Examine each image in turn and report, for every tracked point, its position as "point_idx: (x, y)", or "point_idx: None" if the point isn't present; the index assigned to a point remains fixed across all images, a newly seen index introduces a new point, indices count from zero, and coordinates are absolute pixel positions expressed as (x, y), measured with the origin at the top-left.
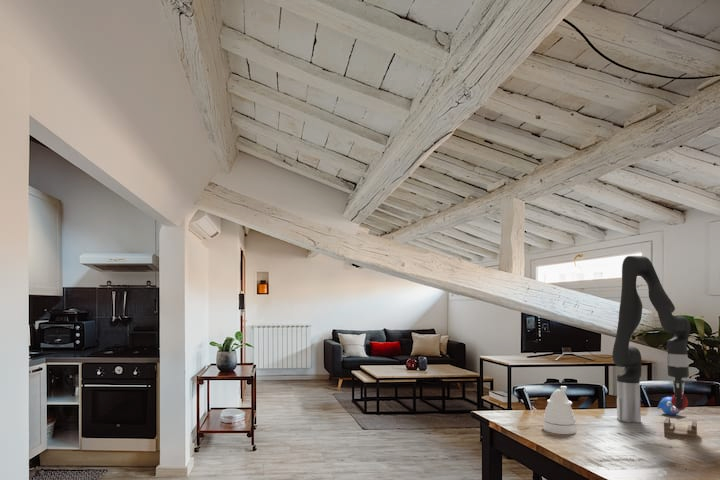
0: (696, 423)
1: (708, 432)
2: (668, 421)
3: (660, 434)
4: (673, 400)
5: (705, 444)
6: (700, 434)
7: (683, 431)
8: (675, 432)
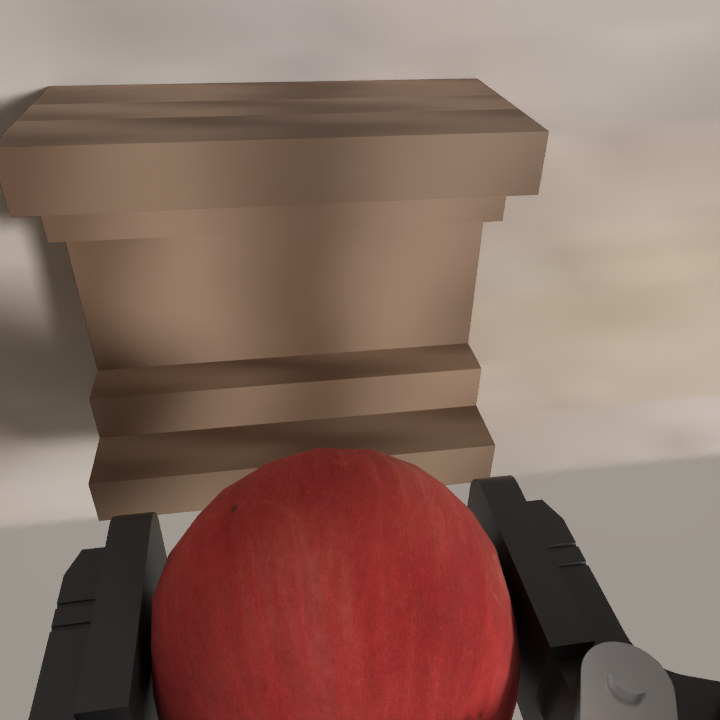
0: None
1: (611, 436)
2: (177, 207)
3: (161, 20)
4: (197, 579)
5: (54, 473)
6: (484, 398)
7: (260, 318)
8: (109, 248)
